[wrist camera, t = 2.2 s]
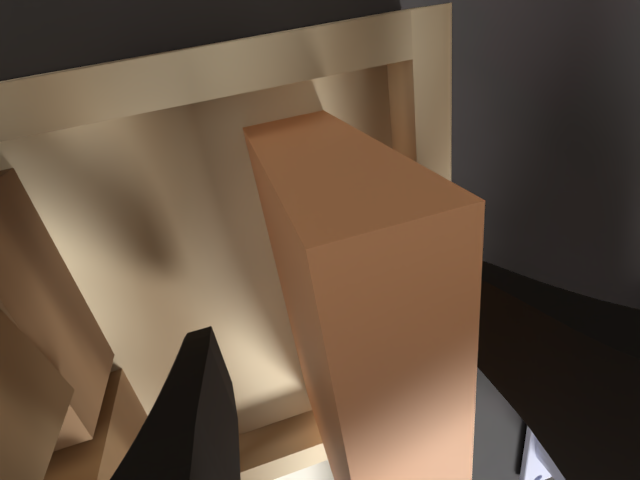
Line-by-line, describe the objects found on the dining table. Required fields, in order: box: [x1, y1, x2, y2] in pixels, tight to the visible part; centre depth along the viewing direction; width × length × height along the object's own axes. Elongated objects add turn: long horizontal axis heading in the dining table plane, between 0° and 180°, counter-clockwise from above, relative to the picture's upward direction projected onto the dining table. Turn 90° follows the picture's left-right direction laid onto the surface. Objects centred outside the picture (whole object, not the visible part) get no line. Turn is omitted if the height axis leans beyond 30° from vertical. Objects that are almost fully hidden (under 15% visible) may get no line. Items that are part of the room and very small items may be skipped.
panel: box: [243, 110, 485, 480], centre depth 10 cm, size 2×10×7 cm, turn 9°
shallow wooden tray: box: [0, 3, 452, 480], centre depth 12 cm, size 16×14×2 cm
